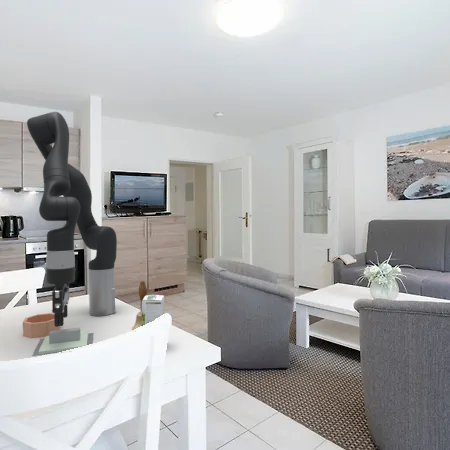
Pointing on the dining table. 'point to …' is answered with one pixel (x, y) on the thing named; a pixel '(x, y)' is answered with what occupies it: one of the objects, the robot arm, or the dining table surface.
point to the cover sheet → (64, 345)
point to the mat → (90, 341)
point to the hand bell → (141, 294)
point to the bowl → (39, 325)
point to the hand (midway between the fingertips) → (61, 321)
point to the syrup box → (152, 308)
